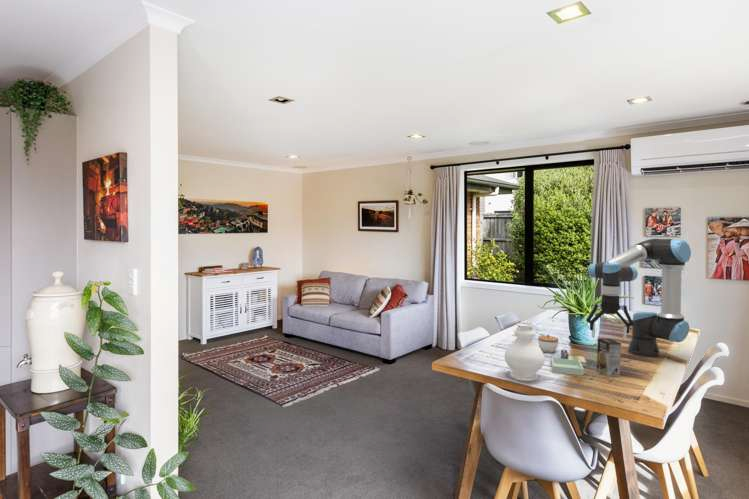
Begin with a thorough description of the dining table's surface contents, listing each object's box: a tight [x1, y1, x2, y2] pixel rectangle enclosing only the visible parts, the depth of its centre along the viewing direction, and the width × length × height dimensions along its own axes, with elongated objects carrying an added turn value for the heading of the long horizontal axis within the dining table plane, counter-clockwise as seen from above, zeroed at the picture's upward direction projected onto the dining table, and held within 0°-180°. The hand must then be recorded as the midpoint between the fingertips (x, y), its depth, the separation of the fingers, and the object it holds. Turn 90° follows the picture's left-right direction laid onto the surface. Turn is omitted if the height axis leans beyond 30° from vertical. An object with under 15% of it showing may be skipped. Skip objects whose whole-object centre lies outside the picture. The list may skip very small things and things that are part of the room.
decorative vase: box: [504, 322, 546, 382], centre depth 206 cm, size 18×18×25 cm
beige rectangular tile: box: [568, 355, 588, 367], centre depth 228 cm, size 8×10×2 cm
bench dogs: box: [560, 349, 570, 359], centre depth 230 cm, size 3×9×5 cm, turn 162°
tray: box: [550, 357, 585, 376], centre depth 217 cm, size 14×15×3 cm
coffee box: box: [596, 337, 622, 377], centre depth 211 cm, size 9×6×16 cm
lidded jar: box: [537, 334, 559, 354], centre depth 248 cm, size 11×11×9 cm
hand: (608, 338), depth 211 cm, fingers open, 13 cm apart
